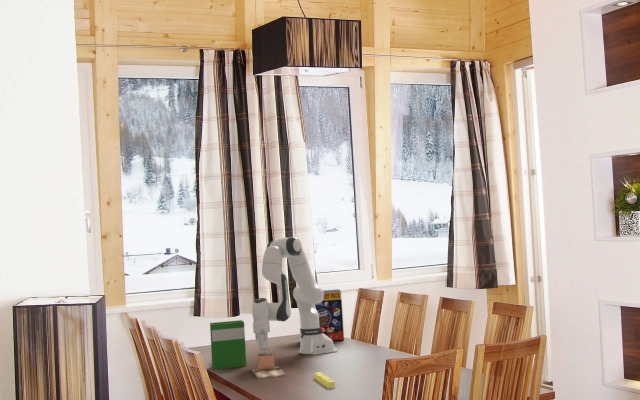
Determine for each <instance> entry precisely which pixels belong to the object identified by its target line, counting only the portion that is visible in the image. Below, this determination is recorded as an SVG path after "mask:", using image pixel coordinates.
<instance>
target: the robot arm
mask: <svg viewBox="0 0 640 400" xmlns="http://www.w3.org/2000/svg"><path fill="white" fill-rule="evenodd" d="M285 258H287V262H288V266H289V268H290V269H289V270H290V272H291V276H292V278H293V280H294V281H295V282H296V284H297V285H296V287H295V288H293V291H292V296H293V298H294V300H295V302H296V305H297V309H298V313H299V322H300V328H299V337H300V347H299V351H298V352H299V354H303V355H321V354H322V355H323V354H328V353H335V352H338V351H339V349H338V348H337V347H335V345H334V341H332V339H330V338H329V337H328V336H326V335H325V334H323V332H325V329H324V328H321V327H320V326H319V313H318V312H317V310H316V307H315V304H319V303H321V302H322V301H323V299H324V292H323V289H322V288H321V287H320V286H319V284H318V282H317V281H316V279H315V277H314V275H313V273H312V270H311V267H310V264H309V261H308V257H307V254H306V252H305V251H304V249H303V247H302V243H301V241H300V240H299V238H297V237H294V236H289V237H282V238H278V239H274V240H271V241H270V242H268V243H267V245H266V248H265V251H264V253H263V258H262V264H261V274H262V276H263V278H264V279H265V280H266V281H268V282H271V283H273V284H275V285H277V286H278V290H279V291H278V292H279V302H269V301H268V299H267V298H266V297H260V298H255V299H254V300H253V301H252V308H251V309H252V311H251V313H252V318H253V322H252V329H253V334H254V336H255V341H256V342H255V343H256V345H257V346H259V350H260V354H265V352H266V350H268V349H269V338H268V333H270V332H271V327H270V321H272V322H273V321H275V322H276V321H277V322H286V321H288V319H289V318H291V314H292V312H291V305H290V298H289V287H288V277H287V276H286V274H285V273H283V269H282V268H283V259H285Z"/></svg>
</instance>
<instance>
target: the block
mask: <svg viewBox="0 0 640 400" xmlns="http://www.w3.org/2000/svg"><path fill="white" fill-rule="evenodd" d="M257 367H258V368H257V369H265V368H275V367H276V366H275V353H273V352H269V353H268V352H266V353H265V354H261V353H258V354H257Z"/></svg>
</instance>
